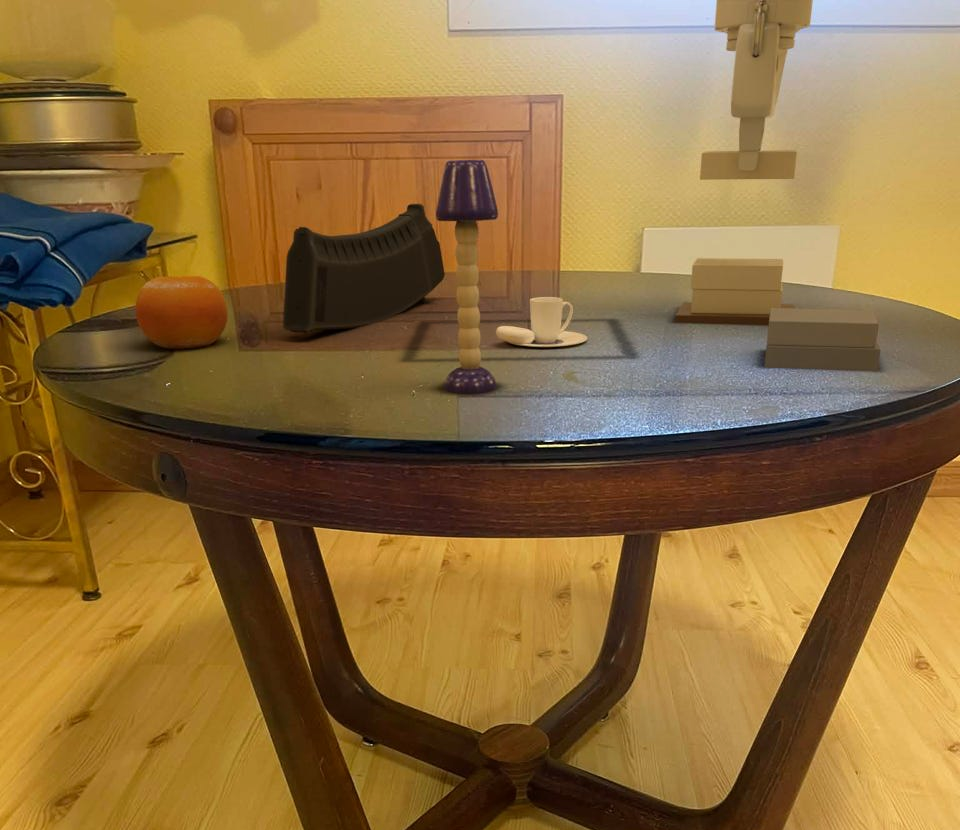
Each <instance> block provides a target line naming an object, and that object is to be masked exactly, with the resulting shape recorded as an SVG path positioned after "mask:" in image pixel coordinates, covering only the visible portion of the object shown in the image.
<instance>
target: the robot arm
mask: <svg viewBox="0 0 960 830" xmlns="http://www.w3.org/2000/svg"><path fill="white" fill-rule="evenodd" d="M715 3H716V4H715V17H714V31H716V32H719V33H724V34H726V46H725V49H726V51H728V52H734V53H735V54H734V63H733V64H734V65H733V74H732V86H731V87H732V88H731V95H730V96H731V97H730V98H731V99H730V114H731V116H732V117H733V118H737V119H739V128H738V146H739V147H738V151H739V161H738V168H739V170H740V171H754V170H755V169H756V168H757V163H758V153H759V151H762V144H763V139H764V133H765V127H766V119H768V118H769V119H771V118H772V117H773V116H774V113H775V111H776V107H777V103H778V97H779V94H780V88H781V83H782V79H783V74H784V68H785V63H786V59H787V56H788V55H787V54H788V50H792V49H793V48H794V47H795V38H796V33H798V32H799V31H800V30H803V29H808V28H809V27H810V26H811V20H812V10H813V0H716V2H715Z"/></svg>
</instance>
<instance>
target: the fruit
mask: <svg viewBox="0 0 960 830" xmlns="http://www.w3.org/2000/svg"><path fill="white" fill-rule="evenodd" d="M134 309H135V310H134V313H135V318H136V322H137V324H138V327H139V328H140V330H141V332H142V333H143V335H144V336H146V338H147V339H148V340H149V341H150V342H152V343H153V345H156V346H158V347H160V348H162V349H167V350H168V349H169V350H185V349H197V348H202V347H209V346H211V345H212V344H214V343H215V342H216V341H218V339H219V338H220V336H221V335H222V334H223V332H224V330H225V328H226V325H227V321H228V307H227V302H226V299H225V296H224V294H223V292H222V291H221V289H220V288H219V287H218V285H216V284H215V283H214V282H213V281H211V280H210V279H208V278H206V277H204V276H200V275H188V276H172V275H171V276H169V275H168V276H156V277H153V278H152V279H150V280H148V281H147V282H146V283H145V284H144V285H142V286H141V289H140V290H139V292H138V293H137V297H136V301H135V308H134Z"/></svg>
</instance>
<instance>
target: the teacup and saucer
mask: <svg viewBox="0 0 960 830" xmlns="http://www.w3.org/2000/svg"><path fill="white" fill-rule="evenodd" d="M566 305H568V307H569V313H568V315H567V319H566V320H565V322H564V323H563V325H562V318H563V308H564V307H565V306H566ZM529 311H530V312H529V313H530V314H529V315H530V326H531V329H528V328H525V327H518V326H512V325H500V326H499V327H497V328H496V329H495V330H496V331H495V334H496V337H497V339H499V340H501V341H503V342H507V343H508V344H511V345H516V346H521V347H523V346H524V347H531V348H532V347H533V348H534V347H535V348H554V347H555V348H556V347H569V346H574V345H578V344H582V343H584V342H586V341H588V337H587V335H585V334H583V333H580V332H574V331H569V330H568V331H566V329H567V327H568V325H570V322H571V319H572V317H573V313H574V307H573V305H572V303H570V302H569V301H564V299H563V298H562V297H556V296H540V297H533V298H530V299H529ZM561 325H562V326H561ZM557 340H558V341H559V340H560V341H562V342H561V343H557V344H555V343H556V341H557ZM533 341H535V342H536V343H537V344H534V343H532V342H533Z"/></svg>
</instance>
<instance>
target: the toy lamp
mask: <svg viewBox="0 0 960 830" xmlns="http://www.w3.org/2000/svg"><path fill="white" fill-rule="evenodd" d="M441 178H442V179H441V184H440V188H439V193H438V198H437V202H436V203H437V204H436V208H435V209H436V210H435V219H436V221H438V222H455V225H454V237H455V240H456V242H457V243H456V245H455V250H454V251H455V253H454V256H455V260H456V262H457V266H456V269H455V279H456V282H457V285H458V286H457V288H456V297H455V298H456V302H457V305H458V309H457V314H456V315H457V316H456V317H457V319H456V320H457V323H458V325H459V330H458V336H457V338H458V344H459V346H460V349H459V352H458V353H459V354H458V360H459V365H460V366H459V367H457V368H454V369H453V370H451V372H449V374H448V375H447V376H446V378H445V381H444V386H443V390H444V391H445V392H447V393H449V394H456V395H480V394H487V393H490V392H494V391H496V390H497V388H498V386H497V382H496V379H495V376H494V375H493V374H492V372H490V371H489V370H488V369H486V368H484V367H483V366H480V365H481V362H482V353H481V350H480V344H481V338H482V337H481V336H482V335H481V331H480V328H479V326H480V322H481V312H480V309H479V307H478V305H479V302H480V290H479V288H478V286H477V284H478V282H479V276H480V274H479V273H480V272H479V268H478V265H477V262H478V259H479V247H478V245H477V240H478V237H479V227H478V223H477V222H479V221H492V220H493V221H495V220H497V219H498V217H499V211H498V205H497V202H496V197H495V193H494V188H493V185H492V180H491V177H490V172H489V169H488V166H487V163H486V162H485V160H484V159H457V160H454V159H453V160H447V161H446V163H445V165H444V167H443V172H442V177H441Z"/></svg>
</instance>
